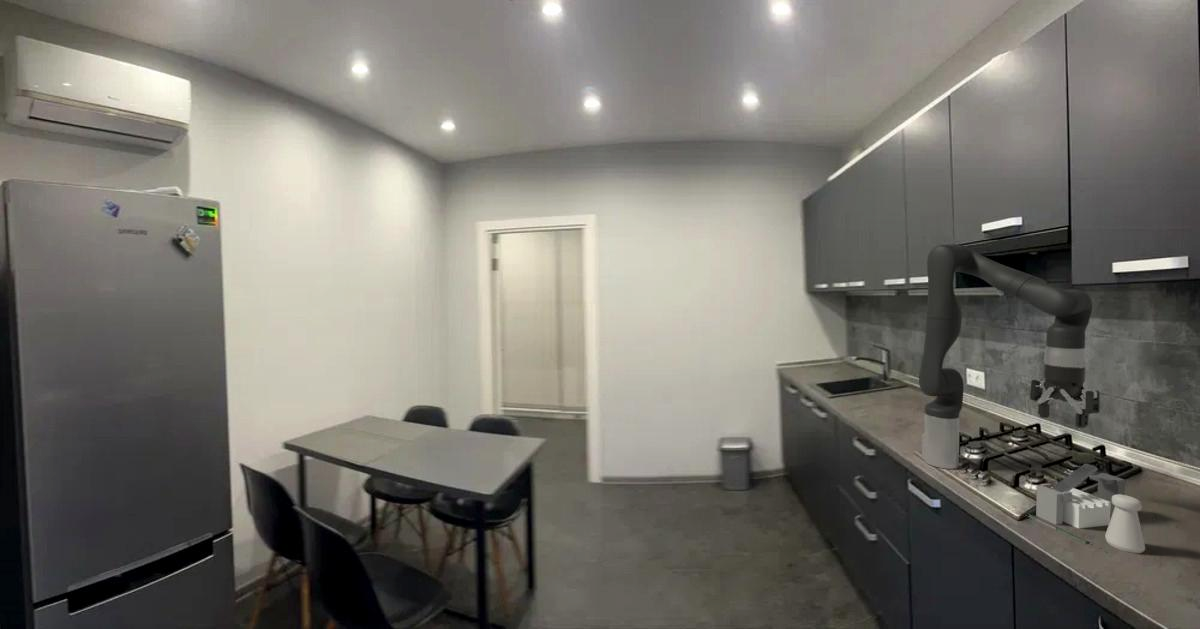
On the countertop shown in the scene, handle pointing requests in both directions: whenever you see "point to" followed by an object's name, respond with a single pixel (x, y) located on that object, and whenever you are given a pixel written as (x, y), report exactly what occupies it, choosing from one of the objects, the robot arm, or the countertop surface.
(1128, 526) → the salt shaker
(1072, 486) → the strap
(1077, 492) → the heatsink base
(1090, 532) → the countertop surface
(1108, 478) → the block
